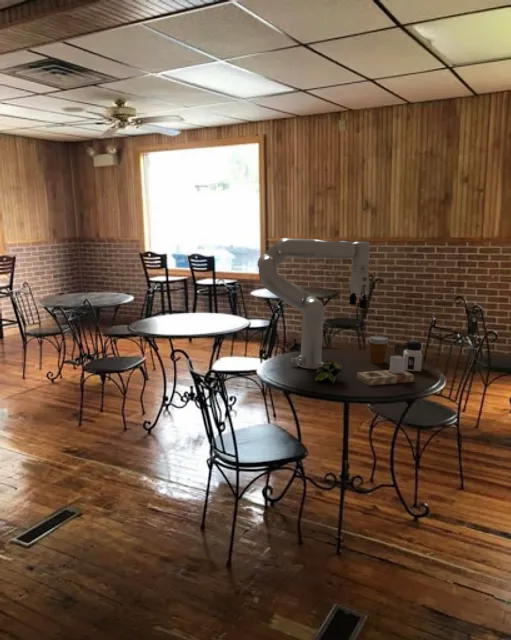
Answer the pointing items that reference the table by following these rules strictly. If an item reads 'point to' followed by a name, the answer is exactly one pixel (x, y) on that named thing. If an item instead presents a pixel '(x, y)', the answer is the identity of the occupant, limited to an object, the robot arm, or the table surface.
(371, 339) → the disposable coffee cup
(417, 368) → the container
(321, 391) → the table surface
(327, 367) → the passion flower
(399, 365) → the peg
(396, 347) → the cup
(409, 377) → the block with square holes
